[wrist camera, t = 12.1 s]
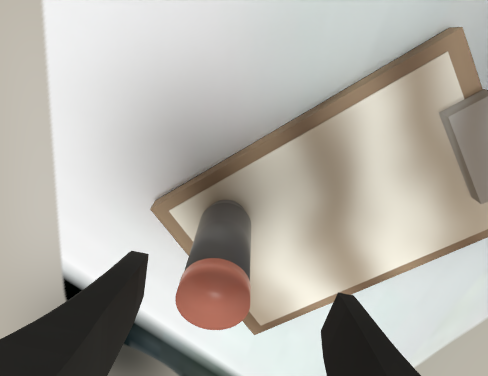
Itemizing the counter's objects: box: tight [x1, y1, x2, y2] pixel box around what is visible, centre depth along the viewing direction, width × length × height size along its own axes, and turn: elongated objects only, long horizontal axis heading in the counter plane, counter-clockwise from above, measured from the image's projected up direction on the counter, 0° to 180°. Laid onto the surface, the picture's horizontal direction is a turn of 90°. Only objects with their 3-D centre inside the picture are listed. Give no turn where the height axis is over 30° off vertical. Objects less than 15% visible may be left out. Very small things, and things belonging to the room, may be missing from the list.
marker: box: [176, 200, 251, 330], centre depth 18 cm, size 3×3×8 cm
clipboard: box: [150, 27, 488, 335], centre depth 21 cm, size 20×13×2 cm, turn 122°
